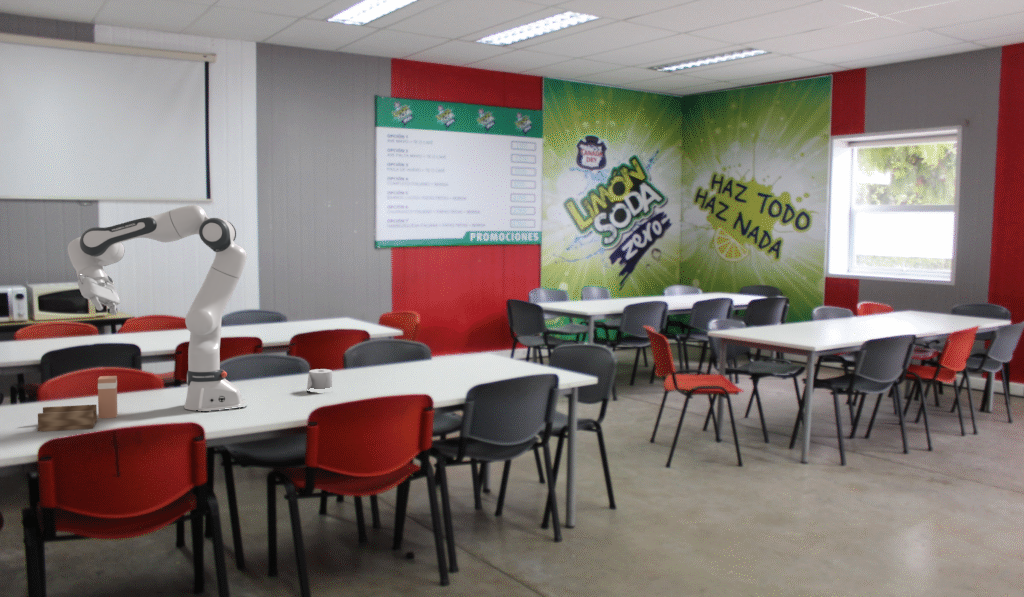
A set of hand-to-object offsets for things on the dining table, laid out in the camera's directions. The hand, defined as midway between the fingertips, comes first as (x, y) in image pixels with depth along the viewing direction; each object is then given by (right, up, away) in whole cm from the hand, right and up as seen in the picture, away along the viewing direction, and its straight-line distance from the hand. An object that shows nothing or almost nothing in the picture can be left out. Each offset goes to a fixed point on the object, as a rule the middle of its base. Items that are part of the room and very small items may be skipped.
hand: (107, 312), depth 283 cm
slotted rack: (-4, -38, -18) cm, 42 cm away
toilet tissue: (+64, -35, +48) cm, 87 cm away
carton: (+2, -37, -4) cm, 37 cm away
